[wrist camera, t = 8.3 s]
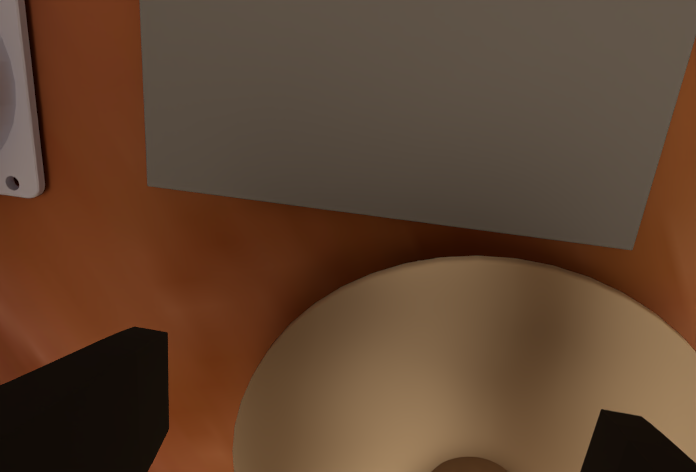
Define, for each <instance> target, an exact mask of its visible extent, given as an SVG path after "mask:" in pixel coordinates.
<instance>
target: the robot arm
mask: <svg viewBox="0 0 696 472" xmlns="http://www.w3.org/2000/svg"><path fill="white" fill-rule="evenodd" d="M14 177H15V178H16V179H17V180H18V182H19V187H18V186H17V185H16V184H15V182H14ZM44 190H45V180H44V171H43V162H42V153H41V144H40V135H39V126H38V117H37V108H36V99H35V90H34V81H33V72H32V64H31V55H30V46H29V37H28V28H27V19H26V10H25V1H24V0H0V194H1V195H8V196H15V197H23V198H34V197H36V196H39V195H40V194H42V193H43V191H44ZM168 430H169V399H168V333H167V332H161V331H156V330H150V329H144V328H139V327H132V328H129V329H127V330H124V331H121V332H119V333H116V334H114V335H112V336H109V337H107V338H105V339H102V340H100V341H98V342H96V343H93V344H91V345H89V346H87V347H85V348H82V349H80V350H78V351H76V352H74V353H71V354H69V355H67V356H65V357H63V358H61V359H58V360H56V361H54V362H52V363H49V364H47V365H45V366H43V367H41V368H38V369H36V370H34V371H32V372H30V373H27V374H25V375H23V376H21V377H19V378H16V379H14V380H12V381H10V382H7V383H5V384H2V385H0V472H148V470H149V468H150V466H151V464H152V462H153V460H154V458H155V456H156V454H157V452H158V450H159V448H160V446H161V444H162V442H163V440H164V438H165V436H166V434H167V432H168ZM580 472H696V463H695V462H694V461H693V460H692V459H691V458H690V457H688V456H687V455H686V454H685V453H684V452H683V451H682V450H681V449H680V448H678V447H677V446H676V445H675V444H674V443H673V442H672V441H671V440H669V439H668V438H667V437H666V436H665V435H664V434H663V433H661V432H660V431H659V430H658V429H657V428H656V427H654V426H653V425H652V424H651V423H649V422H648V421H647V420H646V419H644V418H643V417H642V416H638V415H632V414H626V413H621V412H615V411H609V410H604V409H601V411H600V414H599V417H598V420H597V423H596V426H595V429H594V432H593V435H592V438H591V441H590V444H589V447H588V450H587V453H586V456H585V459H584V462H583V465H582V468H581V471H580Z"/></svg>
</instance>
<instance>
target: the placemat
mask: <svg viewBox="0 0 696 472" xmlns="http://www.w3.org/2000/svg"><path fill="white" fill-rule="evenodd" d="M140 22H141V46H142V69H143V92H144V116H145V139H146V162H147V186H152V187H159V188H167V189H174V190H182V191H189V192H197V193H204V194H212V195H220V196H227V197H235V198H242V199H250V200H257V201H265V202H272V203H280V204H287V205H295V206H302V207H310V208H317V209H325V210H333V211H340V212H348V213H355V214H363V215H370V216H378V217H385V218H393V219H400V220H408V221H415V222H423V223H431V224H438V225H446V226H453V227H461V228H468V229H476V230H483V231H491V232H498V233H506V234H513V235H521V236H529V237H536V238H544V239H551V240H559V241H566V242H574V243H581V244H589V245H596V246H604V247H611V248H619V249H626V250H633V246H634V243H635V240H636V236H637V233H638V229H639V226H640V223H641V219H642V216H643V213H644V209H645V206H646V202H647V199H648V196H649V192H650V189H651V186H652V182H653V179H654V175H655V172H656V169H657V165H658V162H659V158H660V155H661V152H662V148H663V145H664V142H665V138H666V135H667V131H668V128H669V125H670V121H671V118H672V115H673V111H674V108H675V104H676V101H677V98H678V94H679V91H680V87H681V84H682V81H683V77H684V74H685V71H686V67H687V64H688V60H689V57H690V54H691V50H692V47H693V43H694V40H695V37H696V0H140Z"/></svg>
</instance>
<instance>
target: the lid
mask: <svg viewBox="0 0 696 472" xmlns="http://www.w3.org/2000/svg"><path fill="white" fill-rule="evenodd" d="M601 409H604V410H609V411H615V412H621V413H626V414H632V415H638V416H642V417H643V418H644V419H646V420H647V421H648V422H649V423H651V424H652V425H653V426H654V427H656V428H657V429H658V430H659V431H660V432H661V433H663V434H664V435H665V436H666V437H667V438H668V439H669V440H671V441H672V442H673V443H674V444H675V445H676V446H677V447H678V448H680V449H681V450H682V451H683V452H684V453H685V454H686V455H687V456H688V457H690V458H691V459H692V460H693V461H694V462H695V463H696V352H695V350H694V349H693V348H692V347H691V346H690V345H689V344H688V342H687V341H686V340H685V339H684V338H683V337H682V336H681V335H680V334H679V333H678V332H677V331H676V330H674V329H673V328H672V327H671V326H670V325H669V324H667V323H666V322H665V321H664V320H663V319H662V318H660V317H659V316H658V315H657V314H656V313H654V312H653V311H651V310H650V309H648V308H647V307H645V306H644V305H642V304H640V303H639V302H637V301H636V300H634V299H633V298H631V297H629V296H628V295H626V294H625V293H623V292H621V291H619V290H616V289H614V288H612V287H610V286H608V285H606V284H604V283H601V282H599V281H597V280H595V279H593V278H591V277H588V276H585V275H582V274H579V273H575V272H572V271H569V270H566V269H563V268H560V267H557V266H554V265H549V264H543V263H538V262H533V261H528V260H522V259H517V258H506V257H491V256H458V257H439V258H433V259H428V260H422V261H416V262H410V263H404V264H401V265H398V266H394V267H391V268H388V269H384V270H381V271H378V272H375V273H371V274H369V275H367V276H364V277H362V278H360V279H358V280H356V281H353V282H351V283H349V284H347V285H344V286H342V287H340V288H338V289H337V290H335V291H334V292H332V293H330V294H329V295H327V296H326V297H324V298H322V299H321V300H319V301H318V302H316V303H314V304H313V305H312V306H311V307H309V308H308V309H307V310H306V311H305V312H303V313H302V314H301V315H300V316H299V317H297V318H296V319H295V320H294V321H293V322H291V323H290V325H289V326H288V327H287V328H286V329H285V330H284V331H283V332H282V334H281V335H280V336H279V337H278V338H277V339H276V340H275V341H274V343H273V344H272V345H271V347H270V348H269V350H268V351H267V353H266V354H265V356H264V358H263V359H262V361H261V362H260V364H259V365H258V367H257V369H256V371H255V372H254V374H253V376H252V378H251V380H250V382H249V385H248V387H247V389H246V392H245V394H244V396H243V398H242V401H241V404H240V408H239V412H238V416H237V420H236V423H235V429H234V441H233V464H234V472H580V471H581V468H582V465H583V462H584V459H585V456H586V453H587V450H588V447H589V444H590V441H591V438H592V435H593V432H594V429H595V426H596V423H597V420H598V417H599V414H600V411H601Z"/></svg>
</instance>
